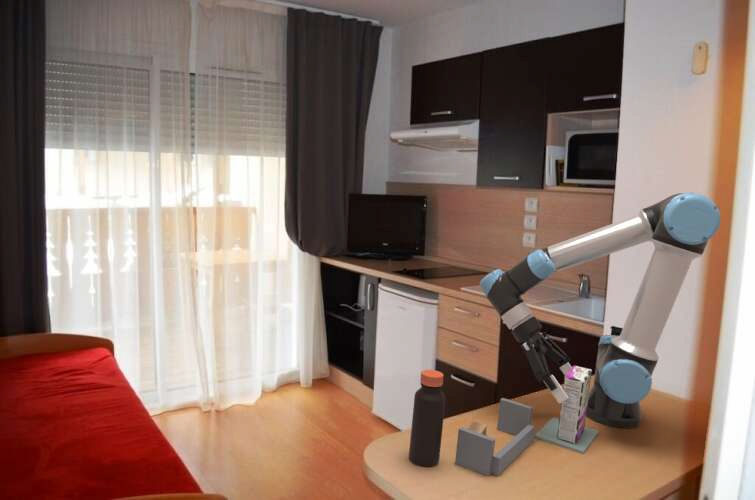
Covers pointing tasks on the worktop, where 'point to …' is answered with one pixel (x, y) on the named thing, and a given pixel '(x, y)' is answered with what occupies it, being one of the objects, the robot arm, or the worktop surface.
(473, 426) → the offcut stack
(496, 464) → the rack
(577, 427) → the candy bar box
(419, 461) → the bottle
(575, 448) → the mat
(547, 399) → the worktop surface
